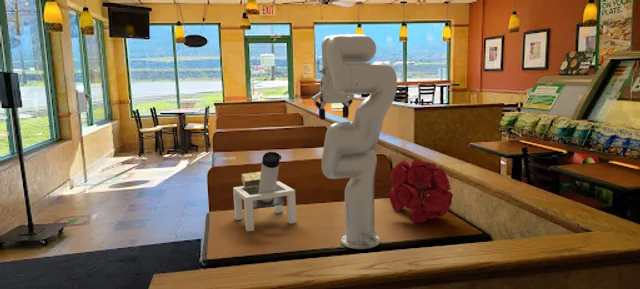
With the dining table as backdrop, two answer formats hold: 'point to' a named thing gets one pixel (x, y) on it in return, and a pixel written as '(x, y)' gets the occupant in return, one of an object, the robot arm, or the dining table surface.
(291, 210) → the stand
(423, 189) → the bouquet
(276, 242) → the dining table surface
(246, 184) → the trapdoor
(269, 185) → the travel mug
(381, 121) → the robot arm
